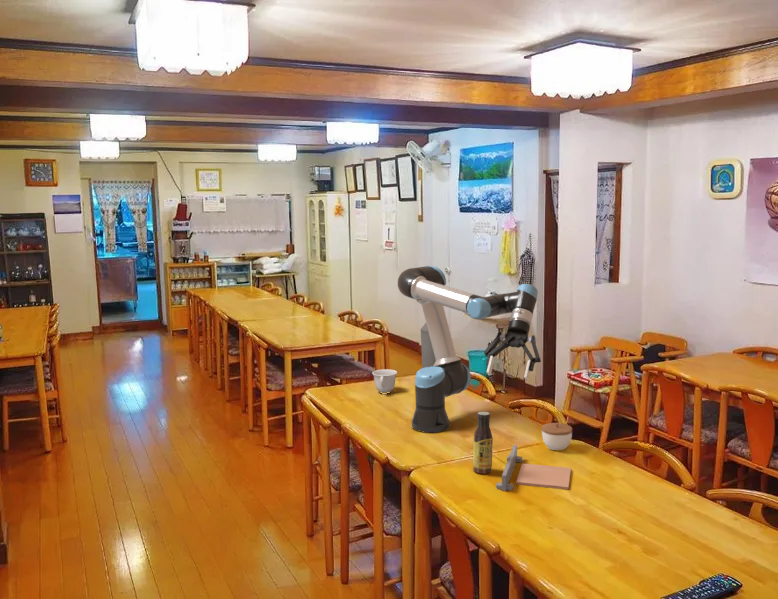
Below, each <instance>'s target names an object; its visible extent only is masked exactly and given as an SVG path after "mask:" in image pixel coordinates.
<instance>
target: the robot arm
mask: <svg viewBox="0 0 778 599" xmlns="http://www.w3.org/2000/svg"><path fill="white" fill-rule="evenodd" d="M397 287H398V290H399V292H400V293H401V294H402V295H403V296H405V297H407V298H410V299H412V300H416V302H417V303H418V304H420V305H421V308H422V312H423V315H424V319H425V323H426V324H427V327H428V331H429V335H430V339H431V343H432V347H433V351H434V355H435V359H436V362H435V364H434V365H433V366H432V367H426V368H422V367H421V368H420V369H419V370H417V371H416V373H415V380H414V390H415V410H414V412H413V417H412V419H411V428H412V427H413V428H414V429H416V430H420V431H424V432H423V433H428V432H433V433H441V432H445V431H447V430H449V429H450V418H449V416H448V413H447V410H446V405H445V404H446V398H447V397H450V396H454V395H456V394H460V393H462V392H463V391H466V390H467V389H468V387H469V386H470V383H471V380H472V377H471V376H472V374H471V371H470V369H469V368H468V366H467V365H466V364H464V363H463V362H462V359H461V358H460V357H459V356H457V354H456V350H455V346H454V343H453V338H452V335H451V331H450V327H449V326H450V325H449V324H448V319H447V315H446V312H445V308H446V307H447V308H450V309H453V310H454V311H455V310H456V311H459V312H462V313H465V314H468V316H470V318H471V319H474V320H484V319H488V318H491V317H495V316H500V315H504V314H510V315H511V316H510V319H509V320H510V321H509V323H508V328H507V331H506V333H502V332H501V331H499V332H497V334H496V337H495V338H494V339H493V340H492V342H490V343H489V345H488V346H487V347H486V348H485V350H483V354H484V355H485V357H487V359H486V365H487V369H486V374H487V376H489V377H490V376H491V374H492V370H493V366H494V364H495V360H496V359H495V357H496V356H497V355H499V354H500V353H501V352H502V351H504V350H506V349H508V348H509V347H510V348H518V349H519V348H522V349H523V351H524V352H525V354H526V355H527V358H528V360H527V363H526V368H525V370H524V376H523V378H524V379H525V381H529V378H530V372H533V371H534V368H535V364H536V363H541V361H542V360H541V357H540V354H539V350H538V348H537V338H536V335H531V336H529V334H530V333H529V332H530V329H531V325H532V320H533V318H534V317H533V316H534V310H535V307H536V304H537V301H538V294H539V291H538V289H537V288H536V286H534V285H532V284H529V283H522V284H520V285H519V286H518V288H517V289H516V291H513V292H507V293H498V294H493V295H489V296H480V295H477V294H475V293H471V292H467V291H464V290H460V289H458V288H455V287H450V286H447V278H446V275H445V274H444V272H443V271H442V270H441V269H440V268H439V267H437V266H433V265H432V266H431V265H426V266H420V267H411V268H407V269H404V270H403V271H402V272H401V273H400V275H399V277H398V278H397ZM444 307H445V308H444ZM502 340H503V341H502ZM528 341H529V343H530V344H531V345H532V346H531V347H532V350H533V353H534V356H533V354H532V353H531V351H530V350H529V349H528V347H527V345H526V343H527V342H528ZM413 428H412V429H413ZM414 429H413V430H414ZM416 430H415V431H416ZM420 431H419V432H420ZM440 431H441V432H440Z"/></svg>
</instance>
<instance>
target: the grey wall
mask: <svg viewBox="0 0 778 599" xmlns="http://www.w3.org/2000/svg"><path fill="white" fill-rule="evenodd" d="M521 462H522V463H523V456H519V455H518V444H513V446H512V448H511V451H510V453H509V455H507V457H506V464H505V467H504V469H503V472H502V475H501V482H497V483H496V486H495V488H497V489H496V490H501V489H502V490H501V491H502V492H506V491H510V490H511V491H513V490H514V483H509V482H510V481H511V477H512V474H513V472H514V470H515V469H514V468H515V466H516V464H517V463H521ZM515 463H516V464H515ZM509 480H510V481H509Z"/></svg>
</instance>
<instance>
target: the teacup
mask: <svg viewBox="0 0 778 599" xmlns="http://www.w3.org/2000/svg"><path fill="white" fill-rule="evenodd" d="M371 374H372V375H373V380H374V385H375V389H376V390H377V391H380V392H382V393H387V392H391V393H392V390H394V389H395V386H396V377H397V374H398V371H397V370H395V369H391V368H390V369H387V368H386V369H385V368H382V369H376V370H374V371H372V373H371Z"/></svg>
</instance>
